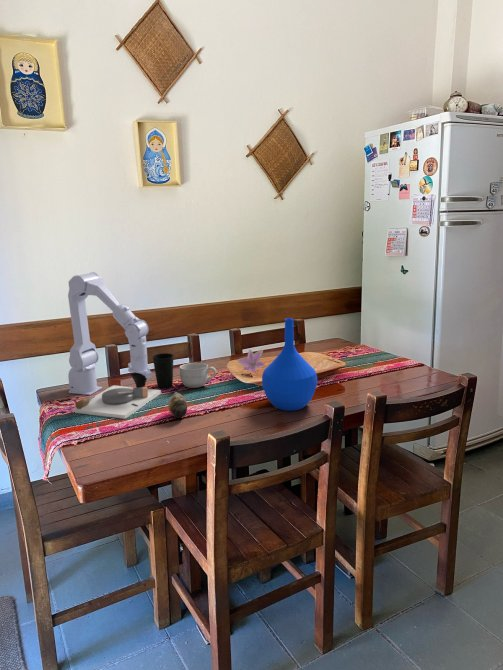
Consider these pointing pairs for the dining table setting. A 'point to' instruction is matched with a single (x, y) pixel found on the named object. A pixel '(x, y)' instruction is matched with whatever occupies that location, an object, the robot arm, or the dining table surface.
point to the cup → (164, 370)
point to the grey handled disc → (123, 395)
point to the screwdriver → (83, 402)
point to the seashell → (177, 405)
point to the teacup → (195, 374)
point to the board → (116, 405)
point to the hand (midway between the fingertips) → (141, 392)
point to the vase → (289, 376)
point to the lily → (252, 361)
